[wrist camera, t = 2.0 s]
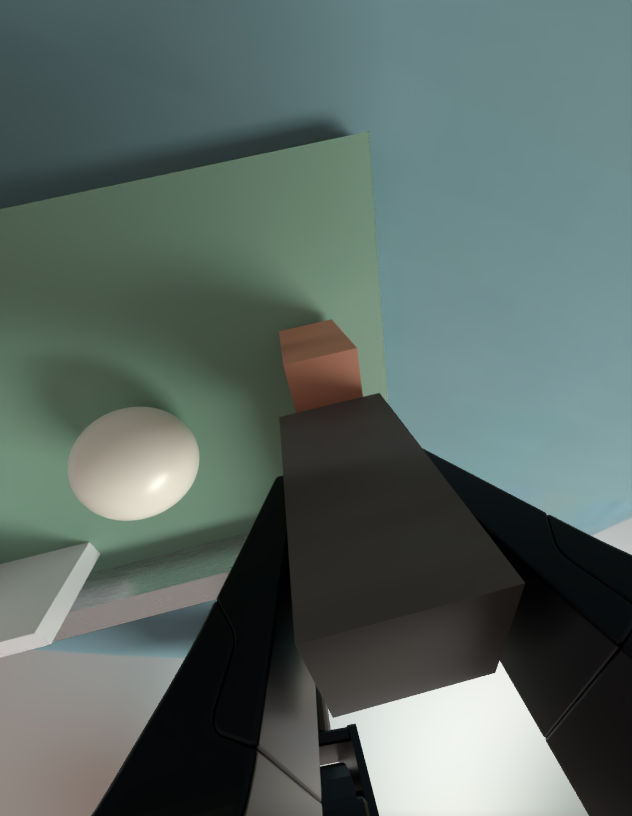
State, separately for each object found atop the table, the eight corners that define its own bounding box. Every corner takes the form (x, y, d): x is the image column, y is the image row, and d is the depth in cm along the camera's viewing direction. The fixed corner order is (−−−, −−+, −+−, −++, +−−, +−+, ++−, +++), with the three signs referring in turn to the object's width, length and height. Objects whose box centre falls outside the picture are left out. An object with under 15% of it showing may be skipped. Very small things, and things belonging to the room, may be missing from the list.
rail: (388, 520, 17) (401, 550, 16) (37, 610, 17) (10, 652, 15) (385, 497, 16) (400, 527, 15) (12, 592, 16) (-20, 635, 14)
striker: (374, 532, 17) (462, 769, 9) (325, 544, 17) (373, 795, 9) (344, 315, 11) (552, 503, 3) (265, 334, 11) (260, 580, 3)
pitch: (390, 510, 18) (396, 523, 18) (45, 598, 18) (34, 616, 17) (359, 142, 9) (368, 131, 8) (-353, 293, 9) (-423, 298, 8)
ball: (221, 455, 13) (205, 529, 10) (134, 476, 13) (88, 559, 10) (185, 377, 11) (148, 436, 8) (82, 401, 11) (-1, 472, 8)
